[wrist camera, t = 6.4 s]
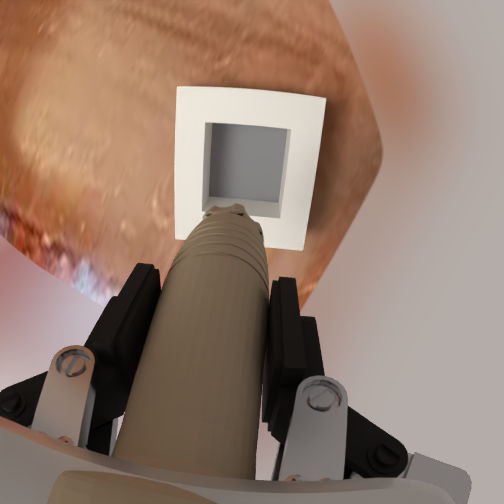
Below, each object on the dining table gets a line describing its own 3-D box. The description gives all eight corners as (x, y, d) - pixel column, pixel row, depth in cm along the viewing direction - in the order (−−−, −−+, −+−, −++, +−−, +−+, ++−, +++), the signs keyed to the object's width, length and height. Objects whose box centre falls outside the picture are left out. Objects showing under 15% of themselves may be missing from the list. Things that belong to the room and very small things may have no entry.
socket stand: (190, 85, 27) (177, 86, 23) (316, 96, 28) (326, 98, 23) (186, 217, 34) (175, 238, 30) (298, 227, 34) (302, 250, 30)
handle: (270, 163, 15) (283, 584, 2) (283, 277, 18) (295, 580, 5) (171, 176, 15) (-30, 489, 2) (198, 284, 18) (130, 562, 5)
